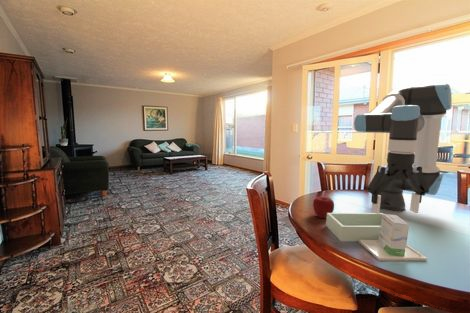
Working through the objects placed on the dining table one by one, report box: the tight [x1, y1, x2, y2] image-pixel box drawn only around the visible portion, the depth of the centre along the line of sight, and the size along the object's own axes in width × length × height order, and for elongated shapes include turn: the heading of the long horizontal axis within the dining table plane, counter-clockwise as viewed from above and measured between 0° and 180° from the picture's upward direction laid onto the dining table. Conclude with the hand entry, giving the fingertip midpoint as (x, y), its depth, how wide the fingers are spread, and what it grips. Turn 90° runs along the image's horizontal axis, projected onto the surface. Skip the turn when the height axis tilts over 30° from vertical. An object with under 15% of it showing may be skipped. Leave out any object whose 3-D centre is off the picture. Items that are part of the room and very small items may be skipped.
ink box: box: [378, 213, 410, 256], centre depth 81 cm, size 9×5×12 cm, turn 171°
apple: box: [312, 196, 335, 219], centre depth 112 cm, size 10×10×10 cm
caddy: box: [325, 212, 384, 242], centre depth 95 cm, size 25×14×6 cm, turn 91°
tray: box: [358, 240, 428, 262], centre depth 82 cm, size 16×12×1 cm
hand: (394, 212), depth 80 cm, fingers open, 13 cm apart
